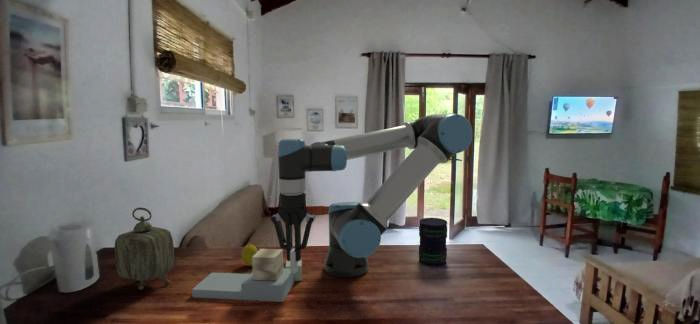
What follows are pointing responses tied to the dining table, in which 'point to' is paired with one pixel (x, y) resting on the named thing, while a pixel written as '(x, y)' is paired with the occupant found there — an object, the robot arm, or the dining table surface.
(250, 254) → the lemon
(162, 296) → the dining table surface
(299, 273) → the sage cube
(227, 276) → the stair
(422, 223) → the storage jar
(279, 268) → the birch cube
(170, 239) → the tabletop clock
